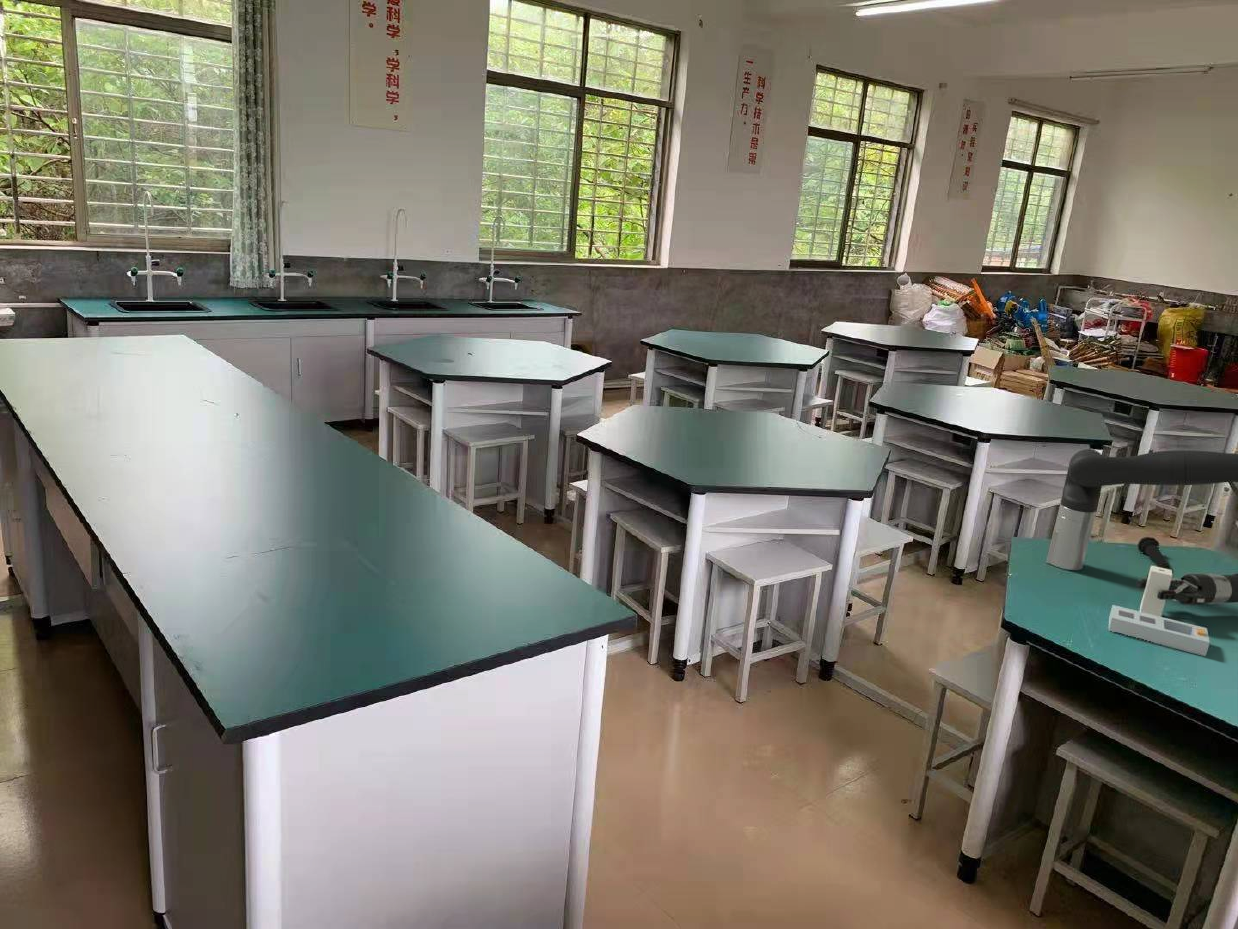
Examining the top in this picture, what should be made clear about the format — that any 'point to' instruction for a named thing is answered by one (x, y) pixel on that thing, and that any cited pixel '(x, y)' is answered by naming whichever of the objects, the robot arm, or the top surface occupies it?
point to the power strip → (1159, 630)
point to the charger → (1155, 590)
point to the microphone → (1152, 551)
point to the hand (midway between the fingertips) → (1148, 589)
